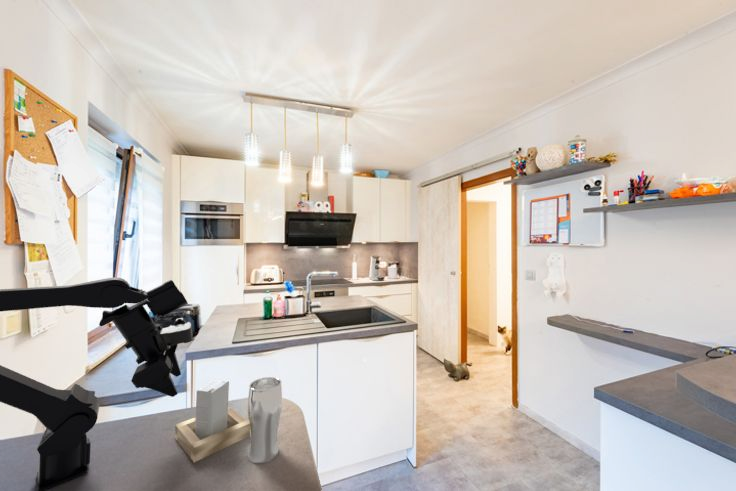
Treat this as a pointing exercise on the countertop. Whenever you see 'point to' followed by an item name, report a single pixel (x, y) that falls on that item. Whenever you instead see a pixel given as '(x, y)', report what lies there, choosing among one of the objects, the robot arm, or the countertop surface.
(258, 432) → the beer glass
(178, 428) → the frame
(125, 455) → the countertop surface
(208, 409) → the skincare box
